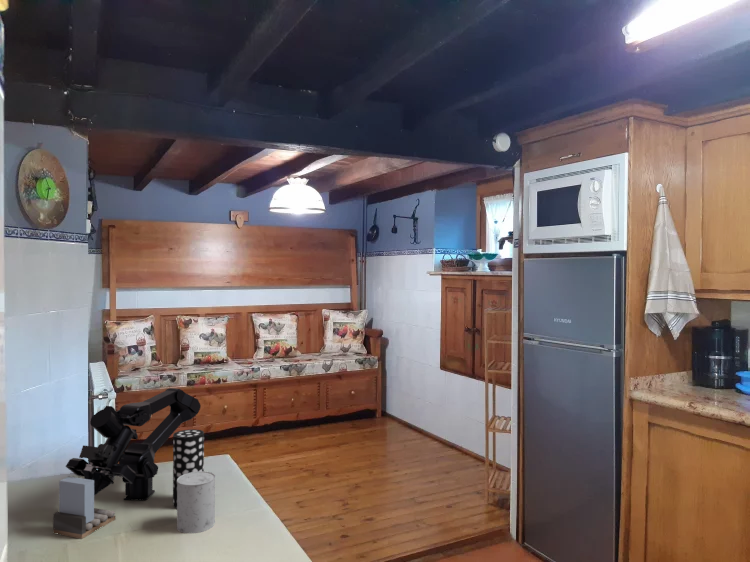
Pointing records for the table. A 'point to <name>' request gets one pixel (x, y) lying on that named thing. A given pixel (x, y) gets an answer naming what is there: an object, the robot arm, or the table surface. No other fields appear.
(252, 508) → the table surface
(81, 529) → the roller track
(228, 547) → the table surface
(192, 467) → the spotted tube
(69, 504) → the slab
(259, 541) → the table surface
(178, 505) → the speckled concrete cylinder
